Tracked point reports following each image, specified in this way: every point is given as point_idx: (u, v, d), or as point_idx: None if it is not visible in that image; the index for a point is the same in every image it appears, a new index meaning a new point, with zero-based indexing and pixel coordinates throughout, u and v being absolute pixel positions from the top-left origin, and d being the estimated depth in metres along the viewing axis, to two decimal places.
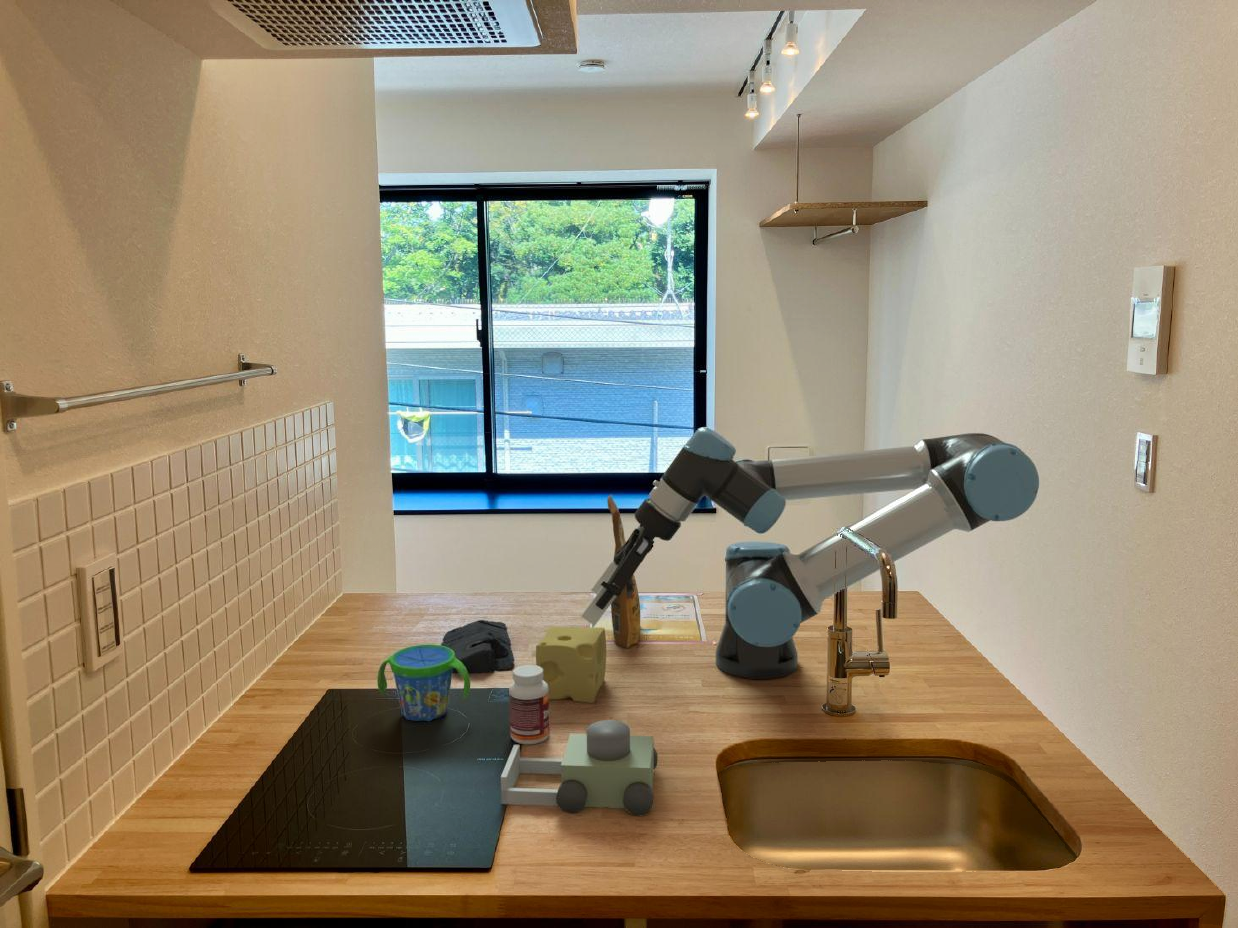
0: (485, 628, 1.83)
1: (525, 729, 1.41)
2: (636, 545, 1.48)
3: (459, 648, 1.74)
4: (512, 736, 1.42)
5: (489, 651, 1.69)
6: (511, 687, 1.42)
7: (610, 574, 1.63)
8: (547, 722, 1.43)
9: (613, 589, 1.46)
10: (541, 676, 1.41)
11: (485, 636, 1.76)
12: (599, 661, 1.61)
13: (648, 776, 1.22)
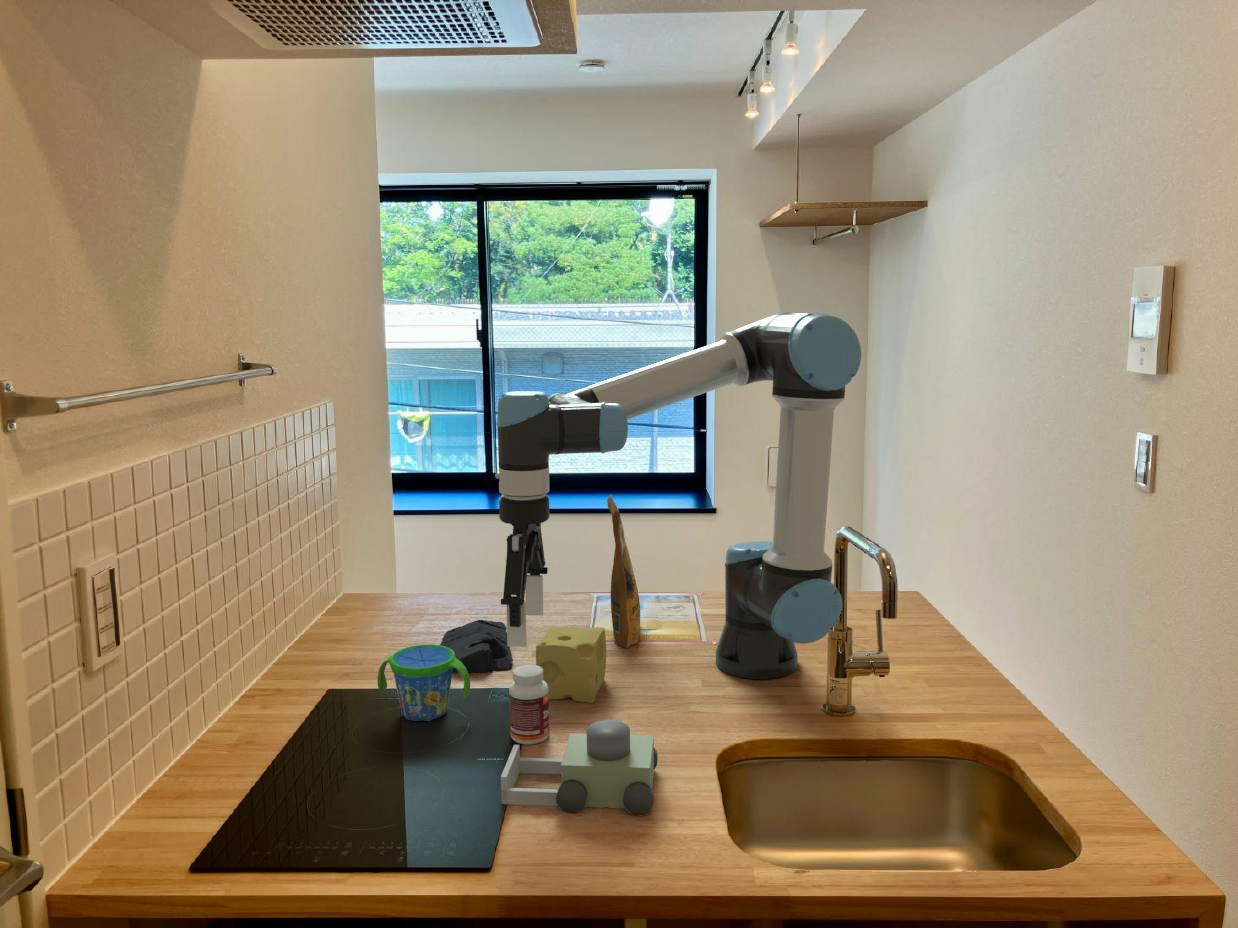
0: (484, 628, 1.83)
1: (525, 729, 1.41)
2: (508, 545, 1.32)
3: (458, 648, 1.74)
4: (512, 736, 1.42)
5: (487, 651, 1.69)
6: (511, 687, 1.42)
7: (532, 588, 1.47)
8: (547, 722, 1.43)
9: (510, 600, 1.30)
10: (541, 676, 1.41)
11: (484, 636, 1.76)
12: (599, 661, 1.61)
13: (648, 776, 1.22)
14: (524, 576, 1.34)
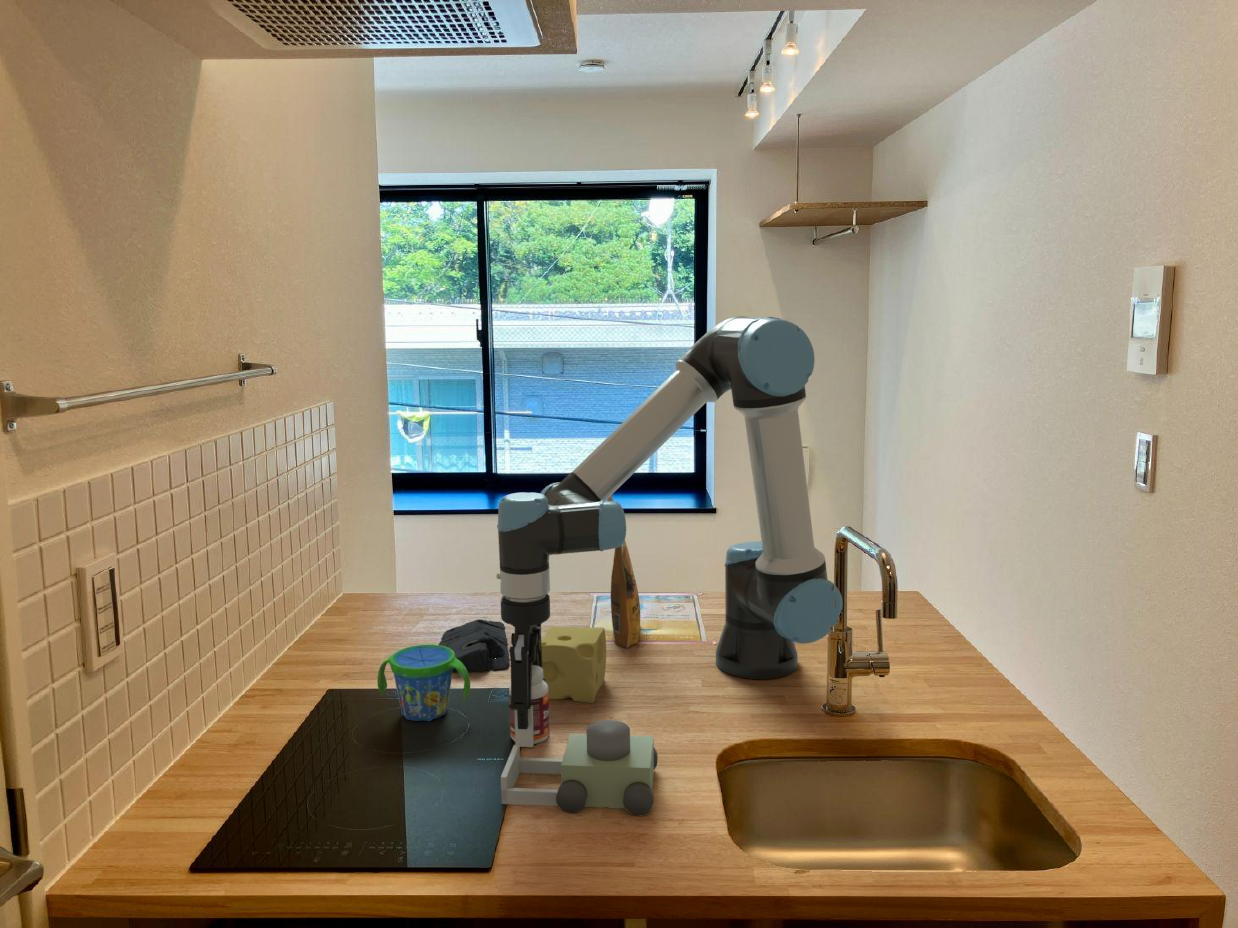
0: (483, 628, 1.83)
1: None
2: (511, 656, 1.35)
3: (455, 647, 1.74)
4: (512, 736, 1.42)
5: (484, 651, 1.69)
6: None
7: None
8: (547, 722, 1.43)
9: (518, 708, 1.36)
10: (541, 676, 1.41)
11: (481, 636, 1.76)
12: (599, 661, 1.61)
13: (648, 776, 1.22)
14: (529, 680, 1.38)
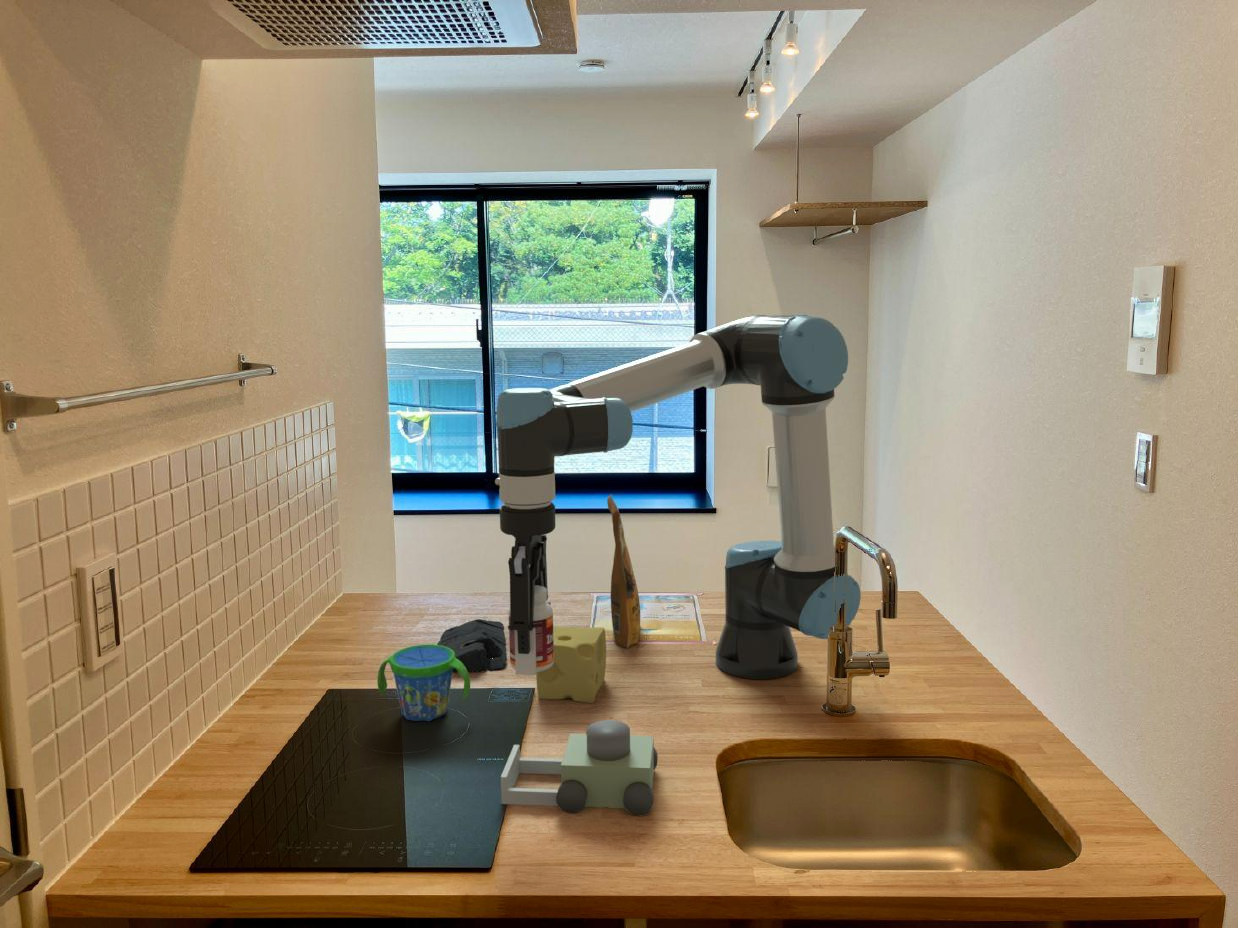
0: (481, 627, 1.83)
1: None
2: (510, 569, 1.19)
3: (453, 647, 1.75)
4: (512, 664, 1.27)
5: (481, 651, 1.69)
6: None
7: None
8: (551, 648, 1.27)
9: (518, 628, 1.20)
10: (544, 596, 1.26)
11: (479, 635, 1.76)
12: (599, 661, 1.61)
13: (648, 776, 1.22)
14: (531, 598, 1.23)
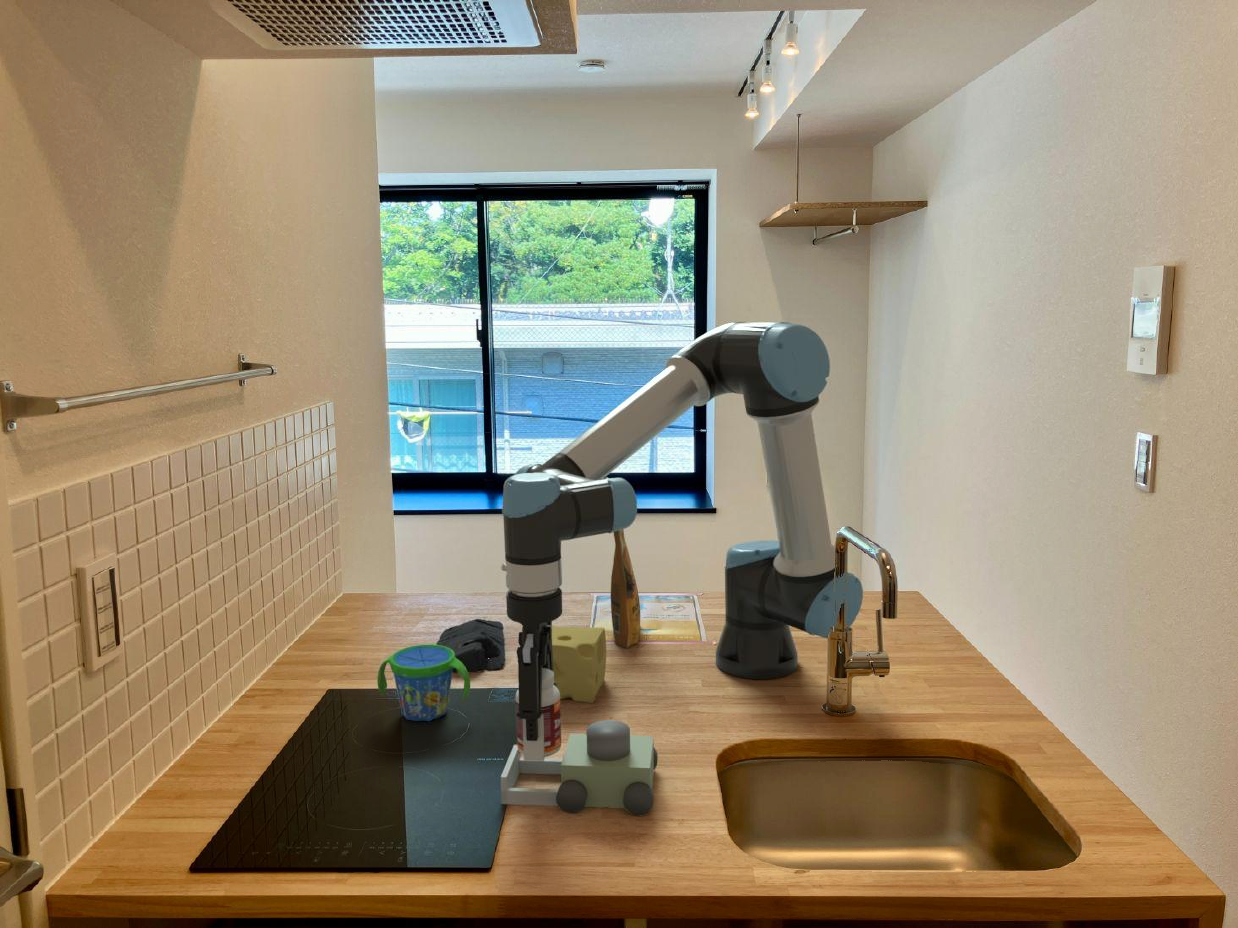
0: (480, 627, 1.83)
1: None
2: (519, 658, 1.19)
3: (452, 647, 1.75)
4: (519, 748, 1.26)
5: (479, 650, 1.70)
6: (517, 693, 1.25)
7: None
8: (559, 732, 1.26)
9: (527, 717, 1.20)
10: (552, 680, 1.25)
11: (478, 635, 1.76)
12: (599, 661, 1.61)
13: (648, 776, 1.22)
14: (539, 685, 1.22)
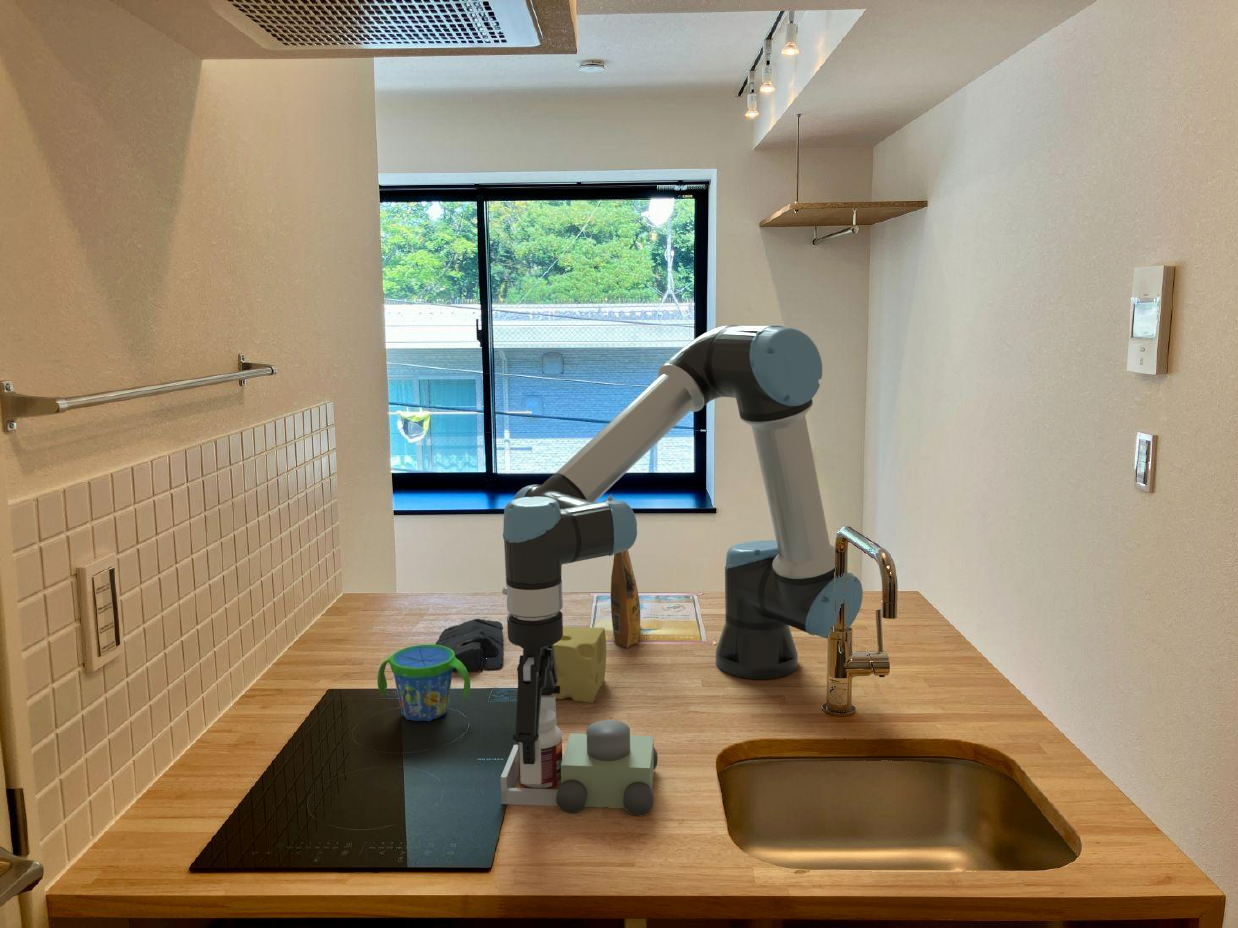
0: (480, 627, 1.84)
1: None
2: (519, 675, 1.19)
3: (451, 646, 1.75)
4: None
5: (477, 650, 1.70)
6: None
7: None
8: (560, 773, 1.27)
9: (524, 739, 1.17)
10: (554, 722, 1.26)
11: (477, 635, 1.76)
12: (599, 661, 1.61)
13: (648, 776, 1.22)
14: (537, 707, 1.21)
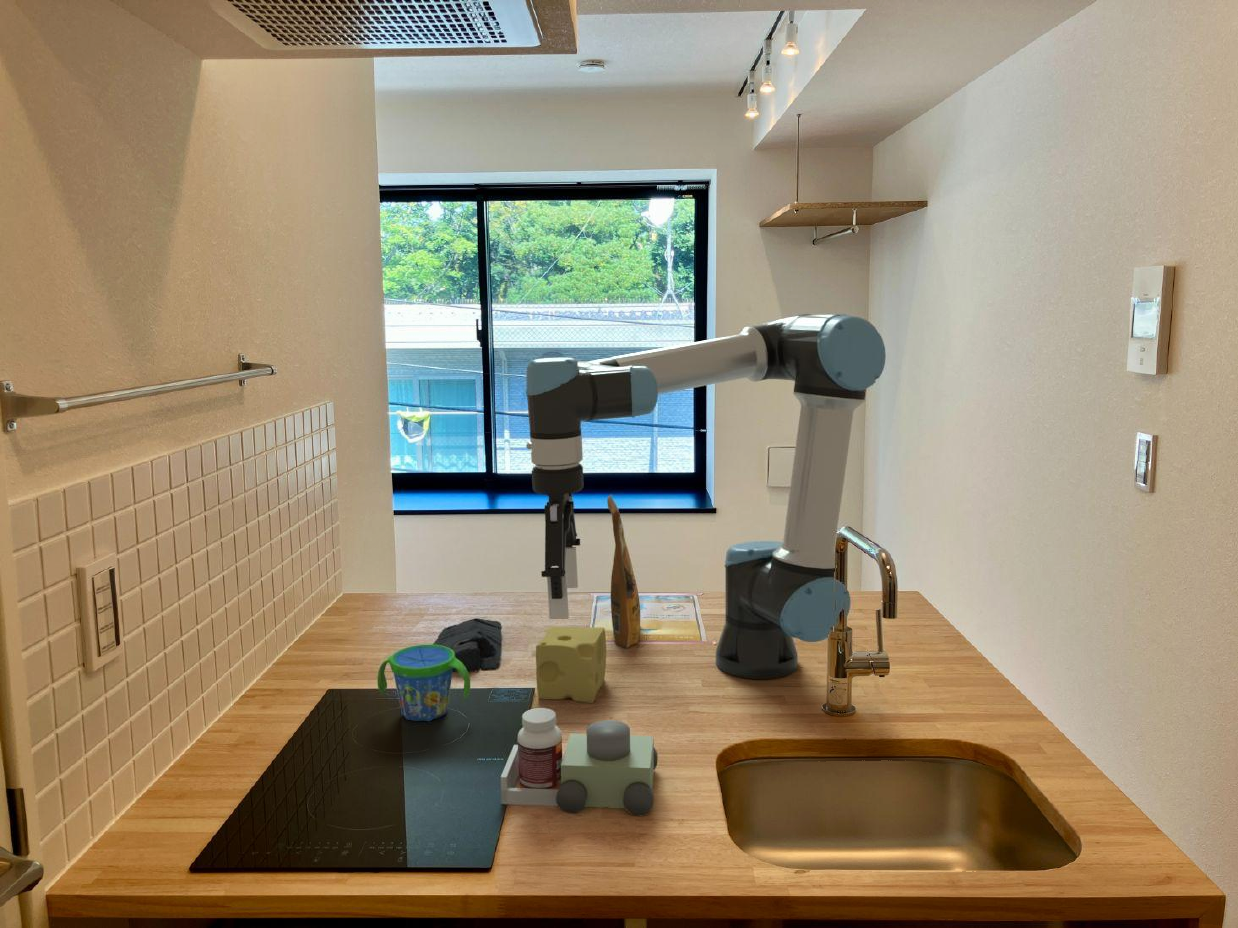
0: (478, 626, 1.84)
1: (536, 781, 1.25)
2: (546, 515, 1.29)
3: (448, 646, 1.75)
4: None
5: (474, 650, 1.70)
6: (520, 734, 1.26)
7: (566, 560, 1.44)
8: (560, 773, 1.27)
9: (552, 572, 1.27)
10: (554, 722, 1.26)
11: (474, 635, 1.76)
12: (599, 661, 1.61)
13: (648, 776, 1.22)
14: (563, 547, 1.31)
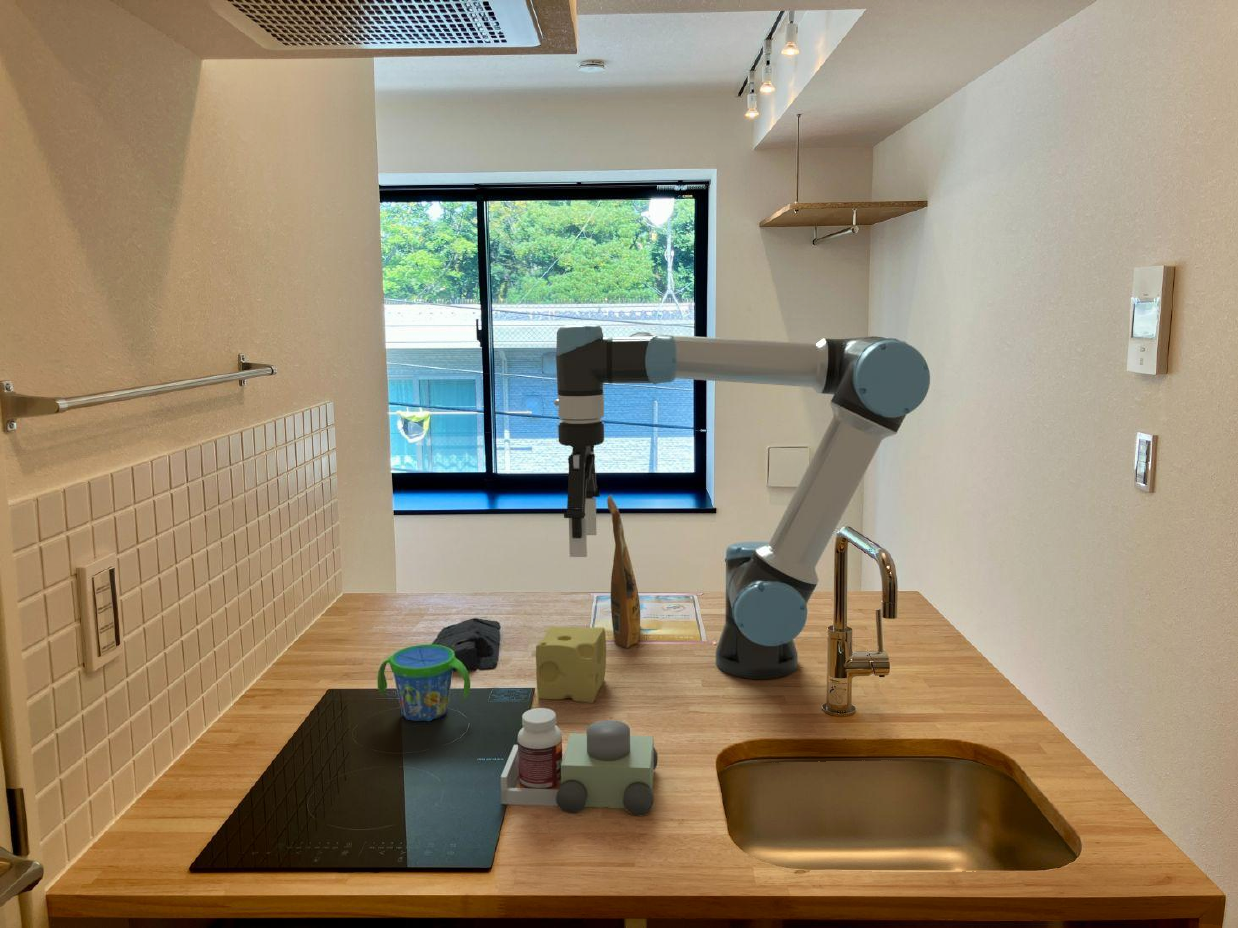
0: (477, 626, 1.84)
1: (536, 781, 1.25)
2: (570, 463, 1.45)
3: (446, 645, 1.75)
4: None
5: (471, 650, 1.70)
6: (520, 734, 1.26)
7: (586, 510, 1.60)
8: (560, 773, 1.27)
9: (574, 513, 1.43)
10: (554, 722, 1.26)
11: (472, 634, 1.77)
12: (599, 661, 1.61)
13: (648, 776, 1.22)
14: (584, 492, 1.47)
